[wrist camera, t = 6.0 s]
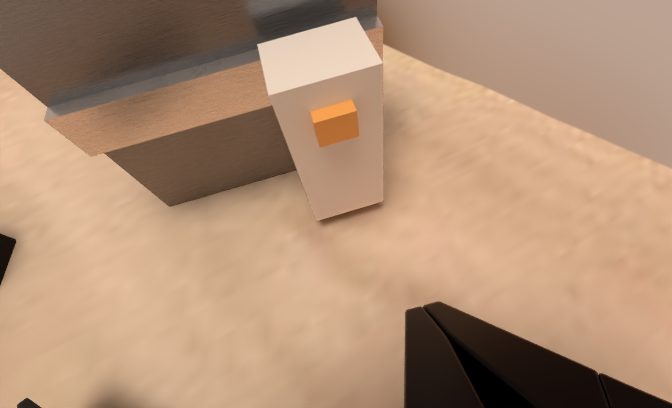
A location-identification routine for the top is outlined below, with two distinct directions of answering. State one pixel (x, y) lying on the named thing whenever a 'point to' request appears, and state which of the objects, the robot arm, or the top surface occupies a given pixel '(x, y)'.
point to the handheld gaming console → (27, 404)
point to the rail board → (166, 81)
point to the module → (330, 113)
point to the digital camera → (5, 252)
